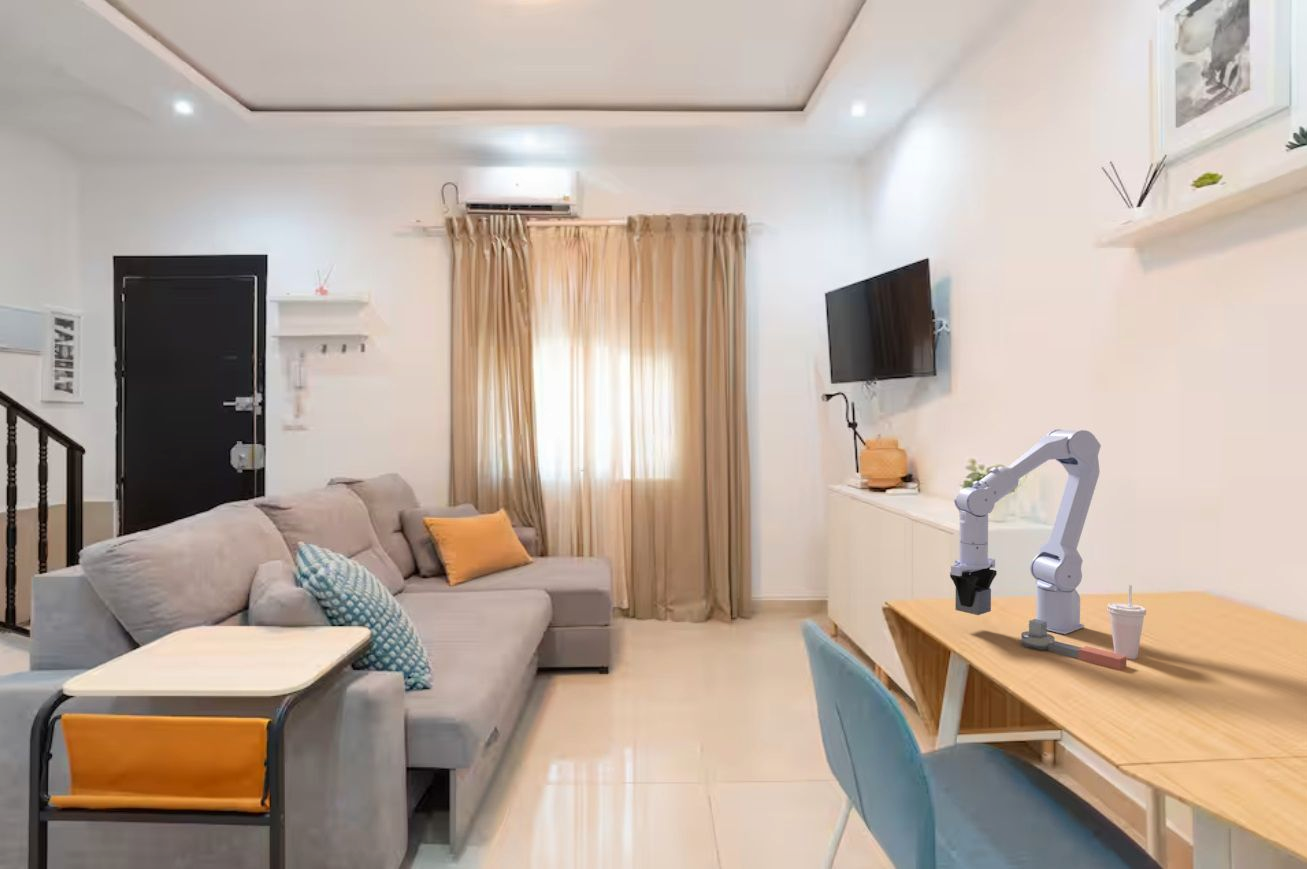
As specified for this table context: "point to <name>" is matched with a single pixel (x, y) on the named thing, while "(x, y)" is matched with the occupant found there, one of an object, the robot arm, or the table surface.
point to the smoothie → (1126, 626)
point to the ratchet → (1068, 647)
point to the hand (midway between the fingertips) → (973, 603)
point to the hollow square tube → (977, 601)
